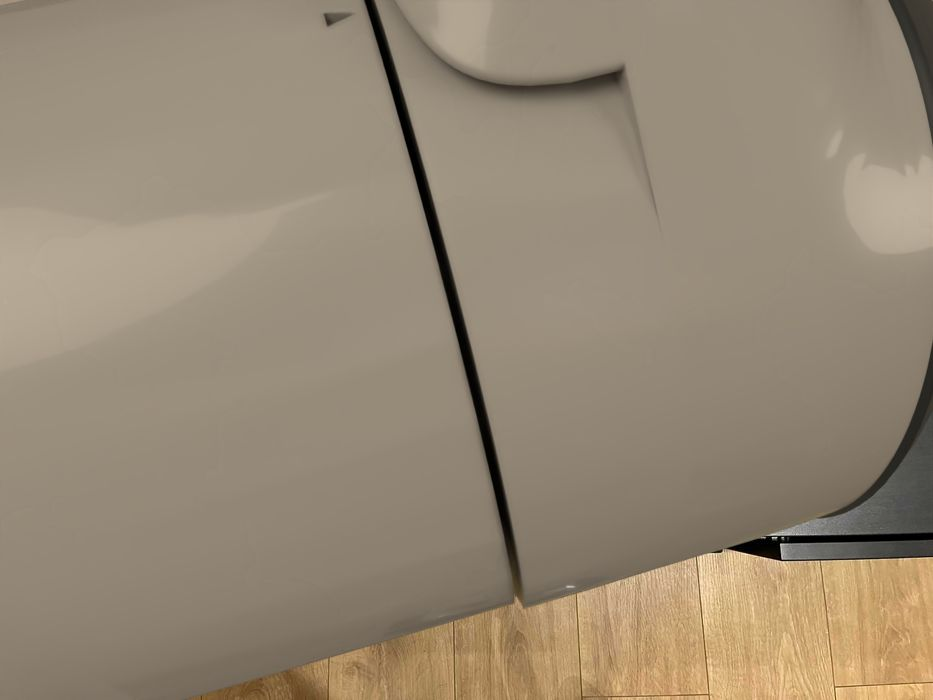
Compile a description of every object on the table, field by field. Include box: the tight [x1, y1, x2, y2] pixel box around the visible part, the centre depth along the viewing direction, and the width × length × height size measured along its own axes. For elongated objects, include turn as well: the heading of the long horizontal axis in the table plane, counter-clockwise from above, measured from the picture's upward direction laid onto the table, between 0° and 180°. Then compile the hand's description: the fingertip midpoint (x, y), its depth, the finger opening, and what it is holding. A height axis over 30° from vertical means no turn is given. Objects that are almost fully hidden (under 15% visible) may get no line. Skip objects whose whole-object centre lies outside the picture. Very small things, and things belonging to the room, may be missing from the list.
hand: (433, 251), depth 34 cm, fingers closed on can, 7 cm apart
